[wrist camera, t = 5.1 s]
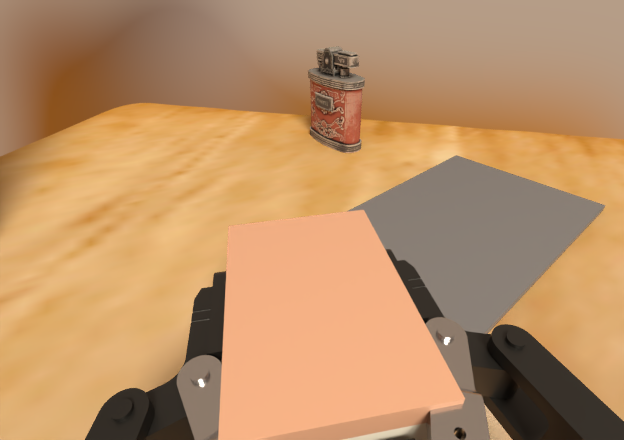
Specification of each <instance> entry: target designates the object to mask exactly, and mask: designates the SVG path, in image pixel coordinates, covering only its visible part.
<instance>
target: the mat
mask: <svg viewBox="0 0 624 440" xmlns="http://www.w3.org/2000/svg"><path fill="white" fill-rule="evenodd" d="M604 207H605V205H602V204H599V203H596V202H594V201H591V200H588V199H585V198H582V197H579V196H576V195H573V194H570V193H567V192H564V191H561V190H558V189H555V188H552V187H549V186H546V185H543V184H540V183H537V182H534V181H531V180H528V179H525V178H522V177H519V176H516V175H513V174H510V173H507V172H504V171H501V170H498V169H495V168H492V167H489V166H486V165H483V164H480V163H477V162H474V161H471V160H468V159H466V158H463V157H460V156H457V155H456V156H454V157H452V158H450V159H448V160H446V161H444V162H443V163H441V164H439V165H437V166H435V167H433V168H431V169H429V170H427V171H425V172H423V173H421V174H419V175H417V176H415V177H413V178H411V179H409V180H407V181H405V182H404V183H402V184H400V185H398V186H396V187H394V188H392V189H390V190H388V191H386V192H384V193H382V194H380V195H378V196H376V197H374V198H372V199H370V200H368V201H366V202H365V203H363V204H361V205H359V206H357V207H355V208H353V209H351V210H349V211H357V210H364V211H365V213H366V215H367V217H368V218H369V220H370V222H371V224H372V226H373V228H374V230H375V231H376V233H377V235H378V237H379V239H380V241H381V243H382V245H383V246H384V248H385V250H386V249H391V250H392V252H393V254H394V256H395V257H396V259H397V261H399V260H406V261H407V262H408V263H409V264H411V265H412V266H413V267H414V268H415V269H416V271H417V272H418V274H419V276H420V278H421V279H422V281H423V282H424V284H425V287H427V289H428V291H429V292H430V294H431V296H432V297H433V299H434V300H435V302H436V304H437V305H438V307H439V309H440V310H441V312H442V314H443V315H444V317H445V318H448V319H451V320H453V321H455V322H456V323H458V324H459V325H460V326H461V327H462V328H463V329H464V330H465V331H469V332H476V333H484V334H487V333H488V332H489V331H490V330H491V329H492V328H493V327H494V326H495V325H496V324H497V323H498V322H499V320H500V319H501V318H502V317H503V316H504V315H505V314H506V313H507V312H508V311H509V310H510V309H511V308H512V307H513V306H514V304H515V303H516V302H517V301H518V300H519V299H520V298H521V297H522V296H523V295H524V294H525V293H526V292H527V291H528V290H529V289H530V287H531V286H532V285H533V284H534V283H535V282H536V281H537V280H538V279H539V278H540V277H541V276H542V275H543V274H544V273H545V271H546V270H547V269H548V268H549V267H550V266H551V265H552V264H553V263H554V262H555V261H556V260H557V259H558V258H559V257H560V255H561V254H562V253H563V252H564V251H565V250H566V249H567V248H568V247H569V246H570V245H571V244H572V243H573V242H574V241H575V239H576V238H577V237H578V236H579V235H580V234H581V233H582V232H583V231H584V230H585V229H586V228H587V227H588V226H589V225H590V224H591V222H592V221H593V220H594V219H595V218H596V217H597V216H598V215H599V214H600V213H601V212H602V211H603V209H604ZM347 212H348V211H347Z"/></svg>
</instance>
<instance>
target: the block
mask: <svg viewBox="0 0 624 440" xmlns="http://www.w3.org/2000/svg"><path fill="white" fill-rule="evenodd" d="M464 401H465V397H464V396H463V394H462V392H461V390H460V388H459V386H458V384H457V382H456V381H455V379H454V377H453V375H452V373H451V371H450V369H449V368H448V366H447V364H446V362H445V360H444V358H443V356H442V355H441V353H440V351H439V349H438V347H437V345H436V343H435V341H434V340H433V338H432V336H431V334H430V332H429V330H428V328H427V327H426V325H425V323H424V321H423V319H422V317H421V315H420V314H419V312H418V310H417V308H416V306H415V304H414V302H413V300H412V299H411V297H410V295H409V293H408V291H407V289H406V287H405V286H404V284H403V282H402V280H401V278H400V276H399V274H398V272H397V271H396V269H395V267H394V265H393V263H392V261H391V259H390V258H389V256H388V254H387V252H386V250H385V248H384V246H383V245H382V243H381V241H380V239H379V237H378V235H377V233H376V231H375V230H374V228H373V226H372V224H371V222H370V220H369V218H368V217H367V215H366V213H365V211H364V210H357V211H348V212H340V213H332V214H323V215H315V216H307V217H298V218H290V219H282V220H274V221H265V222H257V223H249V224H240V225H232V226H229V228H228V248H227V269H226V289H225V310H224V331H223V351H222V372H221V392H220V413H219V433H218V440H407V439H412V438H415V440H427V428H426V422H427V419H428V416H429V412H430V410H433V409H438V408H443V407H448V406H454V405H459V404H463V403H464Z"/></svg>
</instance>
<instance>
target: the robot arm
mask: <svg viewBox="0 0 624 440" xmlns="http://www.w3.org/2000/svg"><path fill="white" fill-rule="evenodd" d="M386 252H387V254H388V256H389V258H390V259H391V261H392V263H393V265H394V267H395V269H396V271H397V272H398V274H399V276H400V278H401V280H402V282H403V284H404V286H405V287H406V289H407V291H408V293H409V295H410V297H411V299H412V300H413V302H414V304H415V306H416V308H417V310H418V312H419V314H420V315H421V317H422V319H423V321H424V323H425V325H426V327H427V328H428V330H429V332H430V334H431V336H432V338H433V340H434V341H435V343H436V345H437V347H438V349H439V351H440V353H441V355H442V356H443V358H444V360H445V362H446V364H447V366H448V368H449V369H450V371H451V373H452V375H453V377H454V379H455V381H456V382H457V384H458V386H459V388H460V390H461V392H462V394H463V396H464V397H465V401H464V403H463V404H459V405H454V406H448V407H443V408H438V409H433V410H430V412H429V416H428V419H427V422H426V428H427V440H490V436H489V430H488V424H487V418H486V412H485V406H484V404H485V405H486V406H487V408H488V409H489V410H490V411H491V413H492V414H493V415H494V417H495V418H496V419H497V420H498V422H499V423H500V424H501V425H502V427H503V428H504V429H505V431H506V432H507V433H508V434H509V436H510V437H511V438H512V439H513V440H624V421H623V420H621V419H620V418H619V417H618V416H617V415H616V414H615V413H614V412H613V411H612V410H611V409H610V408H609V407H608V406H606V405H605V404H604V403H603V402H602V401H601V400H600V399H599V398H598V397H597V396H596V395H595V394H594V393H593V392H591V391H590V390H589V389H588V388H587V387H586V386H585V385H584V384H583V383H582V382H581V381H580V380H579V379H578V378H576V377H575V376H574V375H573V374H572V373H571V372H570V371H569V370H568V369H567V368H566V367H565V366H564V365H563V364H561V363H560V362H559V361H558V360H557V359H556V358H555V357H554V356H553V355H552V354H551V353H550V352H549V351H548V350H547V349H545V348H544V347H543V346H542V345H541V344H540V343H539V342H538V341H537V340H536V339H535V338H534V337H533V336H532V335H530V334H529V333H528V332H527V331H525V330H523V329H521V328H519V327H517V326H513V325H506V324H505V325H499V326H497V327H496V328H494V330H493V331H492V334H484V333H476V332H469V331H465V330H464V329H463V328H462V327H461V326H460V325H459V324H458V323H456V322H455V321H453V320H451V319H448V318H445V317H444V315H443V314H442V312H441V310H440V309H439V307H438V305H437V304H436V302H435V300H434V299H433V297H432V296H431V294H430V292H429V291H428V289H427V287H425V284H424V282H423V281H422V279H421V278H420V276H419V274H418V272H417V271H416V269H415V268H414V267H413V266H412V265H411V264H409V263H408V262H407V261H406V260H399V261H397V259H396V257H395V256H394V254H393V252H392V250H391V249H386ZM225 289H226V271H225V272H217V273H214V279H213V287H208V288H201V290H200V292H199V293H198V295H197V296H196V298H195V299H194V306H193V313H192V320H191V321H192V323H191V327H190V334H189V340H188V347H187V354H186V360H185V363H184V365H183V367H182V368H181V370H180V371H179V373H178V374H177V375H176V376H175V377H174V378H173V379H171V380H170V381H168V382H167V383H165V384H163V385H161V386H159V387H157V388H155V389H153V390H150V391H148V392H146V393H145V392H144V391H143V390H141V389H138V388H130V389H125V390H123V391H120V392H118V393H117V394H115V395H114V396H112V397H111V398H110V399H109V400H108V401H107V402H106V403H105V404H104V405H103V406H102V408H101V410H100V411H99V413H98V415H97V417H96V419H95V421H94V423H93V425H92V427H91V429H90V431H89V433H88V435H87V436H86V438H85V440H218V433H219V413H220V392H221V372H222V351H223V331H224V310H225ZM407 440H415V438H412V439H407Z"/></svg>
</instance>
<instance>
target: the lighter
mask: <svg viewBox="0 0 624 440" xmlns="http://www.w3.org/2000/svg"><path fill="white" fill-rule="evenodd" d="M317 60H318V65H319V68H314V69H310V70H308V78H309V79H310V88H311V89H310V90H311V122H312V126H311V127H310V135H311V136H312V137H313V138H314V139H315V140H317V141H318V142H320V143H322V144H323V145H325V146H328V147H330V148H332V149H335V150H338V151H340V152H344V153H354V152H357V151H359V150H360V149H361V139H360V123H361V103H362V88H363V87H364V81H365V78H363V77H361V76H358V75H356V74H352V73H349V68H355V67H358V66H359V56H358V55H357V53H354V52H349V51H343V50H342V49H341V47H331V48H325V49H318V50H317Z"/></svg>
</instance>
